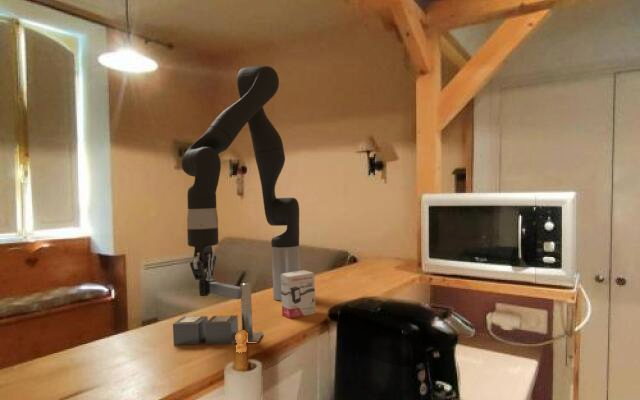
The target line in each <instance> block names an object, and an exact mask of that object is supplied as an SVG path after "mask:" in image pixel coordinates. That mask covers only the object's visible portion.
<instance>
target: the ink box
mask: <svg viewBox="0 0 640 400" xmlns="http://www.w3.org/2000/svg"><path fill="white" fill-rule="evenodd" d="M315 289H316V287H315V272H312V271H310V270H306V269H303V270H300V271H296V272H289V273H283V274H281V296H282V300H281V315H282V316H284V317H286V318H287V319H295V318H300V317H304V316H308V315H309V316H310V315H315V314H316V290H315Z"/></svg>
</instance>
